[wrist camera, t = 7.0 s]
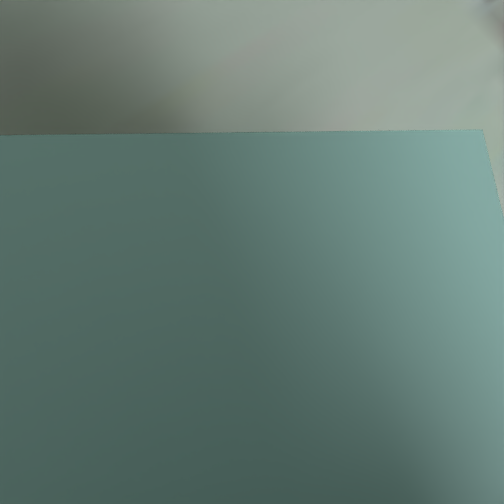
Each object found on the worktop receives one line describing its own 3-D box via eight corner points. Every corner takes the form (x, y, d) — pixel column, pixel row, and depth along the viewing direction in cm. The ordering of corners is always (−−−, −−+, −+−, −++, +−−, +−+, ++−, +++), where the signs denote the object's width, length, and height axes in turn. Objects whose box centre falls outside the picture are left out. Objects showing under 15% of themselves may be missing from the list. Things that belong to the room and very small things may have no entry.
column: (268, 420, 16) (604, 638, 4) (130, 442, 15) (-5, 842, 3) (252, 288, 17) (482, 130, 5) (122, 300, 16) (-6, 134, 4)
